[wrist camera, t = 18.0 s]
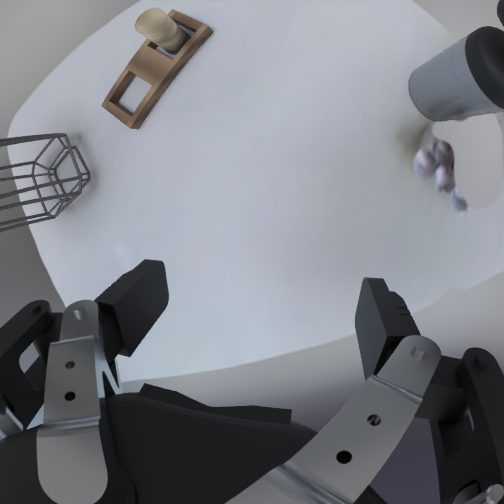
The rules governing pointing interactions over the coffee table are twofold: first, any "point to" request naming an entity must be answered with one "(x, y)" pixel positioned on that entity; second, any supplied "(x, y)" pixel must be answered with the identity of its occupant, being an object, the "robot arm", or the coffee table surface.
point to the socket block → (154, 71)
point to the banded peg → (161, 30)
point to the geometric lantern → (40, 199)
